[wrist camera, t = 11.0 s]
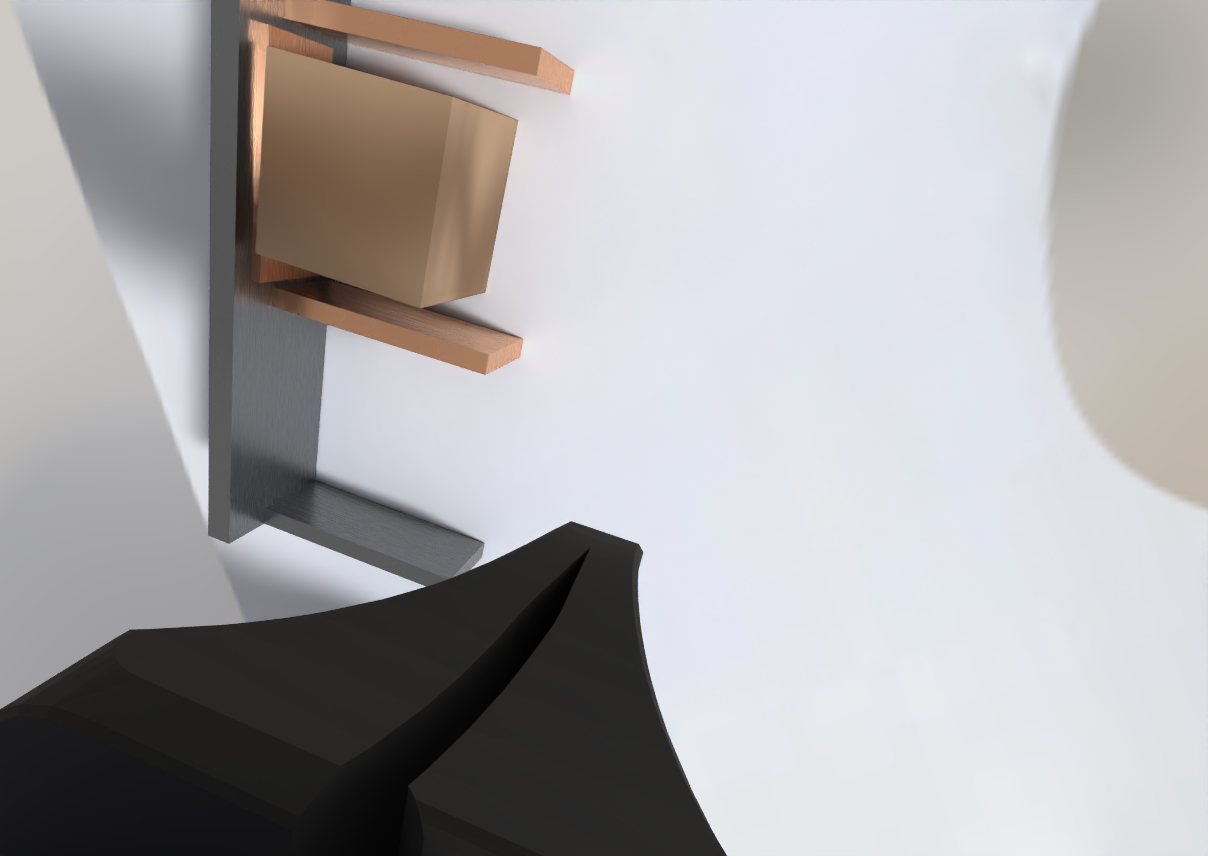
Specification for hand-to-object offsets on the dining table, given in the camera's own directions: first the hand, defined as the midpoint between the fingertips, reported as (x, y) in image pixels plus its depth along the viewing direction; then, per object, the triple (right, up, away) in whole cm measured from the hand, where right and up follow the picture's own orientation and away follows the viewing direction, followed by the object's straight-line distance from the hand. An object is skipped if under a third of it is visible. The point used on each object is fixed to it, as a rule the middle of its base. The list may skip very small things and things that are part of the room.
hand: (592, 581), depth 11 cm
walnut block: (-5, +10, +9) cm, 14 cm away
